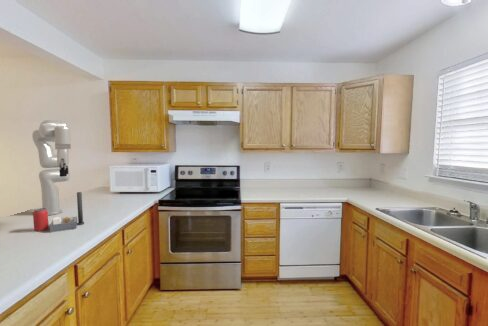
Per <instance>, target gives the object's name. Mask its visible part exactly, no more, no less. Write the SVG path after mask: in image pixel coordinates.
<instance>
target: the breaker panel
mask: <svg viewBox="0 0 488 326" xmlns="http://www.w3.org/2000/svg"><path fill="white" fill-rule="evenodd" d="M77 223H78V215H75V216H66V217H61V223H60V224H55V225H53V219H52V221H51V222H50V225H49V232H50V233H54V232H61V231H68V230H75V229H77V226H78V225H77Z"/></svg>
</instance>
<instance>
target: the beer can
mask: <svg viewBox="0 0 488 326" xmlns="http://www.w3.org/2000/svg"><path fill="white" fill-rule="evenodd" d="M32 216H33V217H32V218H33V220H32V221H33V231H34V232H44V231H46V230H48V229H50V225H49V215H48V212H47V210H46V208H43V207H42V208H37V209H34V210H33V213H32Z"/></svg>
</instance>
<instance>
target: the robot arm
mask: <svg viewBox="0 0 488 326" xmlns="http://www.w3.org/2000/svg"><path fill="white" fill-rule="evenodd" d="M31 135H32V141H33V143H34V145H35V147H36V148H37V154H38V159H39V165H40V167H41V168H44V169H43V170H41V171H40V172H39V173H38V180H39V183H40V188H41V191H40V192H41V201H42V202H41V203H42V204H41V205H42V206H41V207H42V208H46V210H47V212H48V216H53V215H54V216H55V215H59V214H61V213H63V209H60V192H59V187H58V186H57V185H56V184H55V183H62V182H68V181H69V180H70V179H71V173H70V168H69V167H70V166H69V161H70V159H69V158H70V155H69V151H70V150H72V148H71V129H70V127H68V125H67V123H66V122H65V121H62V120H43V121H41V123H40V124H39V127H38V129H36V130H33V131H32V134H31ZM51 142H52V143H54V147H55V148H53V147H52V145H50V144H49V143H51ZM54 150H56V154H55V153H54Z"/></svg>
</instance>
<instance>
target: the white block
mask: <svg viewBox="0 0 488 326" xmlns="http://www.w3.org/2000/svg"><path fill="white" fill-rule="evenodd" d="M61 218H62V217H61V216H56V217H53V219H52V220H53V225H55V224H60V223H61Z"/></svg>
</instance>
